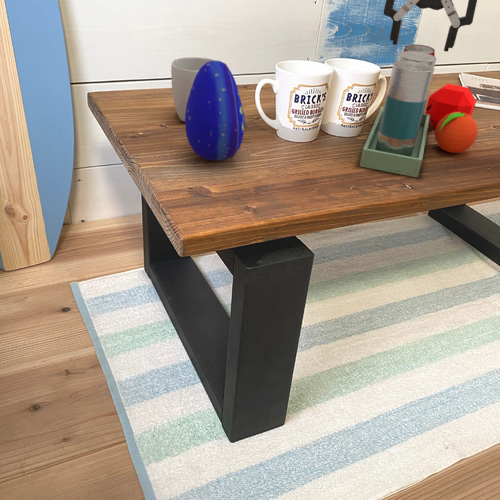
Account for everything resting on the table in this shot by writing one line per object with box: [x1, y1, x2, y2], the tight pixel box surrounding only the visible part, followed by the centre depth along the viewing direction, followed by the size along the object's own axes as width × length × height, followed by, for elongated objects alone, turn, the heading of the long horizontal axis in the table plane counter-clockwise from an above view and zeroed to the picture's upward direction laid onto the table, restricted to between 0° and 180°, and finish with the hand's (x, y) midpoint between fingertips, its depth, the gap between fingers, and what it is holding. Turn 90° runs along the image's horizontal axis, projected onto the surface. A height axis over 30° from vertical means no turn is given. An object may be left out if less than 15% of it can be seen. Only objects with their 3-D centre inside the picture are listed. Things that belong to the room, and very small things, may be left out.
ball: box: [424, 83, 477, 129], centre depth 99 cm, size 8×8×8 cm
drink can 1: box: [396, 50, 437, 68], centre depth 86 cm, size 6×6×15 cm
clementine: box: [434, 112, 479, 154], centre depth 88 cm, size 8×7×7 cm
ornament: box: [184, 60, 246, 162], centre depth 78 cm, size 11×9×15 cm
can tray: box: [359, 105, 430, 178], centre depth 90 cm, size 9×23×3 cm, turn 161°
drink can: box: [375, 60, 435, 157], centre depth 81 cm, size 6×6×15 cm
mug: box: [170, 56, 217, 123], centre depth 95 cm, size 13×9×10 cm
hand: (420, 47), depth 88 cm, fingers open, 8 cm apart
